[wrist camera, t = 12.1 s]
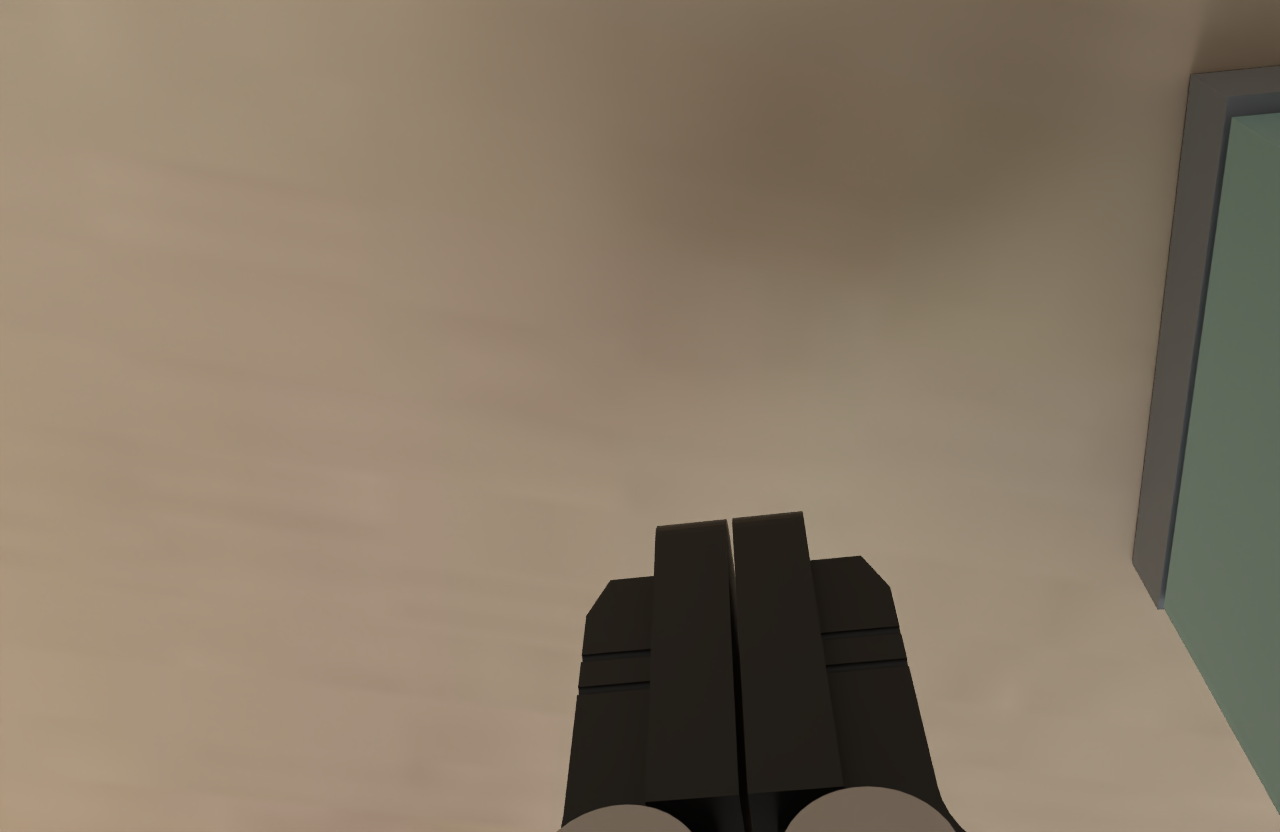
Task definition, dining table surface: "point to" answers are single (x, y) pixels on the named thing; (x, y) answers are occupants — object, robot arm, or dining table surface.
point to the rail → (1189, 300)
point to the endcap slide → (1237, 460)
